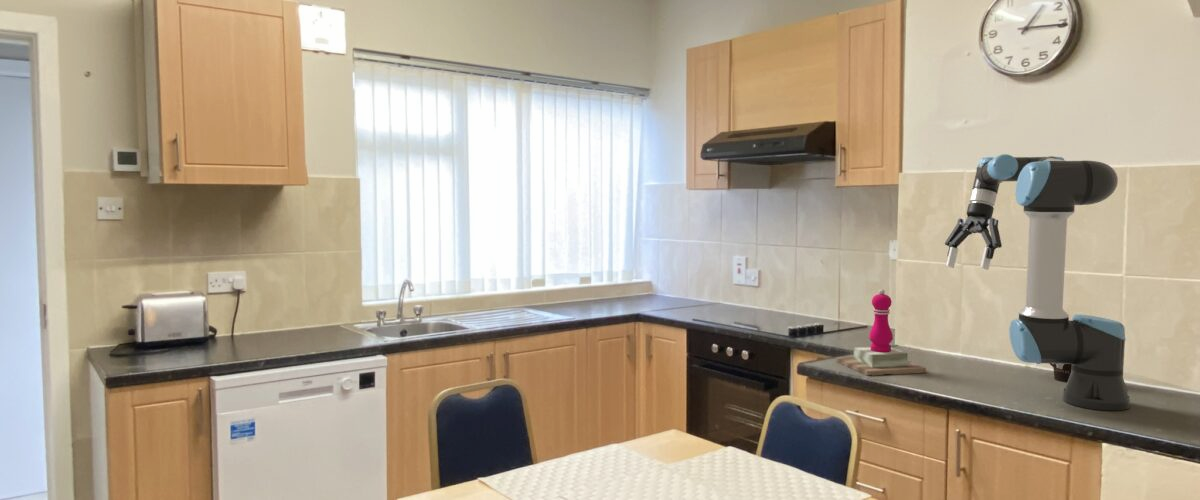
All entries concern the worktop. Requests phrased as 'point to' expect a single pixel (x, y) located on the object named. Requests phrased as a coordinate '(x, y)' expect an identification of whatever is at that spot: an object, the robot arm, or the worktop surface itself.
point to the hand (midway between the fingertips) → (966, 267)
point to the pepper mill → (881, 323)
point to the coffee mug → (1062, 372)
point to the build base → (881, 369)
